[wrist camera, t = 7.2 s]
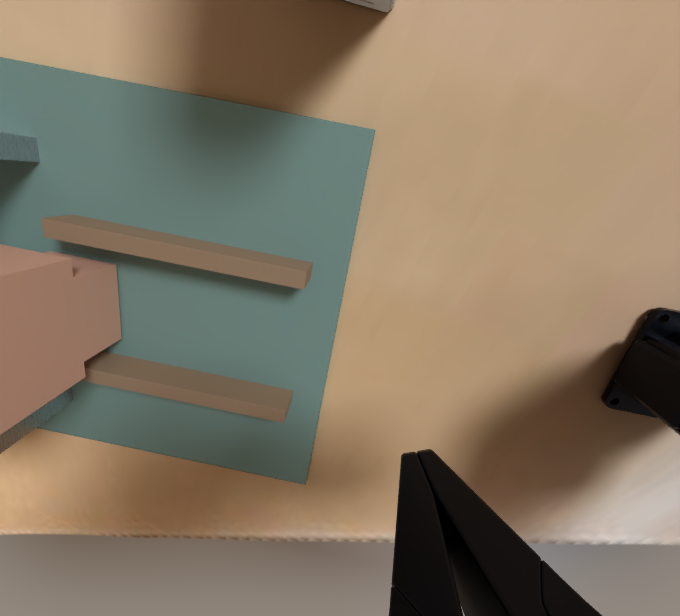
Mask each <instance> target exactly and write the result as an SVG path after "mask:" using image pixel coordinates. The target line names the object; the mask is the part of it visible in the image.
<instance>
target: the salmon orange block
mask: <svg viewBox="0 0 680 616" xmlns="http://www.w3.org/2000/svg"><path fill="white" fill-rule="evenodd" d="M120 339H122V338H121V323H120V309H119V295H118V281H117V266H116V264H113V263H108V262H103V261H98V260H93V259H88V258H83V257H78V256H73V255H68V254H63V253H59V252H54V251H49V252H44V253H41V252H36V251H31V250H26V249H21V248H17V247H12V246H7V245H2V244H0V435H1V434H2V433H4V432H5V431H7V430H8V429H10V428H11V427H13V426H14V425H16V424H17V423H18V422H20V421H21V420H23V419H24V418H26V417H27V416H29V415H30V414H32V413H33V412H35V411H36V410H38V409H39V408H41V407H42V406H44V405H45V404H46V403H48V402H49V401H51V400H52V399H54V398H55V397H57V396H58V395H60V394H61V393H63V392H64V391H66V390H67V389H69V388H70V387H72V386H73V385H75V384H76V383H77V382H79V381H80V380H82V379H83V378H85V377H86V376H85V367H84V362H85V361H86V360H88V359H90V358H91V357H93V356H94V355H96V354H98V353H99V352H101V351H102V350H104V349H106V348H107V347H109V346H110V345H112V344H114V343H115V342H117V341H118V340H120Z"/></svg>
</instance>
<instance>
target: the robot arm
mask: <svg viewBox="0 0 680 616" xmlns="http://www.w3.org/2000/svg"><path fill="white" fill-rule="evenodd" d="M662 315H663V317H662V318H661V319H660V320H659V318H660V317H661V316H662ZM613 398H614V399H613ZM612 399H613V400H612ZM601 400H602V402H603V403H604V404H605V405H606V406H607V407H609V408H612V409H617V410H622V411H627V412H632V413H636V414H641V415H646V416H651V417H656V418H659V419H660V420H662V421H663V422H664V423H665V424H667V425H668V426H669V427H670V428H671V429H673V430H674V431H675V432H676V433H678V434H679V435H680V311H677V310H672V309H667V308H656V309H654V310H652V311H651V312H650V314H649V315H648V317H647V318H646V320H645V322H644V324H643V325H642V327H641V329H640V331H639V332H638V334H637V336H636V338H635V339H634V341H633V343H632V345H631V346H630V348H629V350H628V352H627V353H626V355H625V357H624V359H623V360H622V362H621V364H620V365H619V367H618V369H617V371H616V372H615V374H614V376H613V378H612V379H611V381H610V383H609V385H608V386H607V388H606V390H605V392H604V393H603V395H602V398H601ZM611 400H612V401H611ZM460 604H461V605H460ZM461 606H462V609H463V612H464V614H465V616H602V615H601V614H600V613H599V612H597V611H596V610H595V609H594V608H593V607H592V606H591V605H589V604H588V603H587V602H586V601H585V600H584V599H583V598H582V597H581V596H580V595H579V594H578V593H577V592H575V591H574V590H573V589H572V588H571V587H570V586H569V585H568V584H567V583H566V582H565V581H564V580H563V579H562V578H561V577H560V576H559V575H558V574H557V573H555V571H554V570H553V569H552V568H551V567H550V566H549V565H548V564H547V563H546V562H544V561H541V558H540V557H539V556H538V555H537V554H536V553H535V552H534V551H533V550H532V549H531V548H530V547H529V546H528V545H527V544H526V543H525V542H524V541H523V540H522V539H521V538H520V537H519V536H518V535H517V534H516V533H515V532H514V531H513V530H512V529H511V528H510V527H509V526H508V525H507V524H506V523H505V522H504V521H503V520H502V519H501V518H500V517H499V516H498V515H497V514H496V513H495V512H494V511H493V510H492V509H491V508H490V507H489V506H488V505H487V504H486V503H485V502H484V501H483V500H482V499H481V498H480V497H479V496H478V495H477V494H476V493H475V492H474V491H473V490H472V489H471V488H470V487H469V486H468V485H467V484H466V483H465V482H464V481H463V480H462V479H461V478H460V477H459V476H458V475H457V474H456V473H455V472H454V471H453V470H452V469H451V468H450V467H449V466H448V465H447V464H446V463H445V462H444V461H443V460H442V459H441V458H440V457H439V456H438V455H437V454H436V453H435V452H434V451H432V450H430V449H427V450H421V451H418V452H417V453H416V452H409V453H403V454H402V456H401V468H400V481H399V494H398V507H397V520H396V534H395V547H394V560H393V573H392V588H391V597H390V609H389V610H390V611H389V616H463V613H462V609H461Z"/></svg>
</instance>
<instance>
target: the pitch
mask: <svg viewBox="0 0 680 616" xmlns="http://www.w3.org/2000/svg"><path fill="white" fill-rule="evenodd" d="M0 131H4V132H9V133H14V134H19V135H25V136H30V137H35V138H37V144H38V151H39V158H40V162H30V161H15V160H0V244H2V245H7V246H12V247H17V248H21V249H26V250H31V251H36V252H41V253H44V252H49V251H54V252H59V253H63V254H68V255H73V256H78V257H83V258H88V259H93V260H98V261H103V262H108V263H113V264H116V266H117V281H118V295H119V309H120V323H121V338H122V339H120V340H118V341H117V342H115V343H114V344H112V345H110V346H109V347H107V348H106V349H104V350H102V351H101V352H99V353H98V354H96V355H94V356H93V357H91V358H90V359H88V360H86V361H85V362H84V367H85V376H86V377H85V378H83V379H82V380H80V381H79V382H77V383H76V384H75V385H73V386H72V392H73V399H74V401H72V402H71V403H69V404H68V405H67V406H65V407H64V408H63V409H61V410H60V411H58V412H57V413H56V414H54V415H53V416H52V417H50V418H49V419H47V420H46V421H45V422H43V423H42V424H41V425H39V426H38V427H37V428H40V429H45V430H50V431H54V432H59V433H64V434H69V435H73V436H78V437H83V438H87V439H92V440H97V441H102V442H106V443H111V444H116V445H121V446H125V447H130V448H135V449H139V450H144V451H149V452H154V453H158V454H163V455H168V456H173V457H177V458H182V459H187V460H191V461H196V462H201V463H206V464H210V465H215V466H220V467H225V468H229V469H234V470H239V471H243V472H248V473H253V474H258V475H262V476H267V477H272V478H277V479H281V480H286V481H291V482H295V483H300V484H306V479H307V474H308V469H309V464H310V459H311V454H312V449H313V444H314V439H315V433H316V428H317V423H318V418H319V413H320V408H321V403H322V398H323V393H324V388H325V383H326V378H327V373H328V367H329V362H330V357H331V352H332V347H333V342H334V337H335V332H336V327H337V322H338V317H339V312H340V306H341V301H342V296H343V291H344V286H345V281H346V276H347V271H348V266H349V261H350V256H351V251H352V245H353V240H354V235H355V230H356V225H357V220H358V215H359V210H360V205H361V200H362V195H363V190H364V184H365V179H366V174H367V169H368V164H369V159H370V154H371V149H372V144H373V139H374V134H375V130H374V129H368V128H363V127H358V126H353V125H348V124H343V123H337V122H332V121H327V120H322V119H317V118H312V117H306V116H301V115H296V114H291V113H286V112H281V111H276V110H270V109H265V108H260V107H255V106H250V105H245V104H239V103H234V102H229V101H224V100H219V99H214V98H208V97H203V96H198V95H193V94H188V93H183V92H178V91H172V90H167V89H162V88H157V87H152V86H147V85H141V84H136V83H131V82H126V81H121V80H116V79H110V78H105V77H100V76H95V75H90V74H85V73H80V72H74V71H69V70H64V69H59V68H54V67H49V66H43V65H38V64H33V63H28V62H23V61H18V60H12V59H7V58H2V57H0Z"/></svg>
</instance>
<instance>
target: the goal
mask: <svg viewBox="0 0 680 616" xmlns="http://www.w3.org/2000/svg"><path fill="white" fill-rule="evenodd" d="M0 160H15V161H30V162H40V158H39V151H38V144H37V138H35V137H30V136H25V135H19V134H14V133H9V132H4V131H0ZM72 401H74V399H73V392H72V387H70V388H69V389H67V390H66V391H64V392H63V393H61V394H60V395H58V396H57V397H55V398H54V399H52V400H51V401H49V402H48V403H46V404H45V405H44V406H42V407H41V408H39V409H38V410H36V411H35V412H33V413H32V414H30V415H29V416H27V417H26V418H24V419H23V420H21V421H20V422H18V423H17V424H16V425H14V426H13V427H11V428H10V429H8V430H7V431H5V432H4V433H2V434H1V435H0V454H1V453H2V452H4V451H5V450H6V449H8V448H9V447H11V446H12V445H13V444H15V443H16V442H17V441H19V440H20V439H21V438H23V437H24V436H26V435H27V434H28V433H30V432H31V431H32V430H34V429H35V428H37V427H38V426H39V425H41V424H42V423H43V422H45V421H46V420H47V419H49V418H50V417H52V416H53V415H54V414H56V413H57V412H58V411H60V410H61V409H63V408H64V407H65V406H67V405H68V404H69V403H71V402H72Z"/></svg>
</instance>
